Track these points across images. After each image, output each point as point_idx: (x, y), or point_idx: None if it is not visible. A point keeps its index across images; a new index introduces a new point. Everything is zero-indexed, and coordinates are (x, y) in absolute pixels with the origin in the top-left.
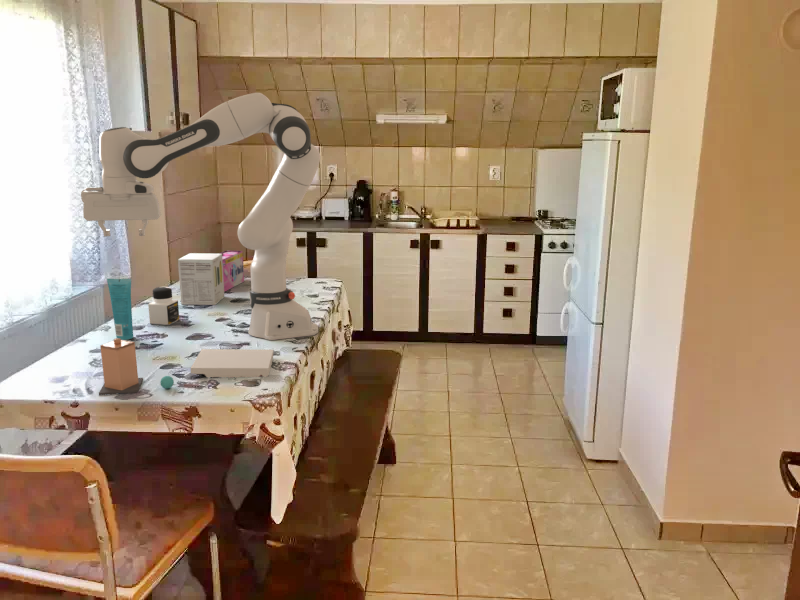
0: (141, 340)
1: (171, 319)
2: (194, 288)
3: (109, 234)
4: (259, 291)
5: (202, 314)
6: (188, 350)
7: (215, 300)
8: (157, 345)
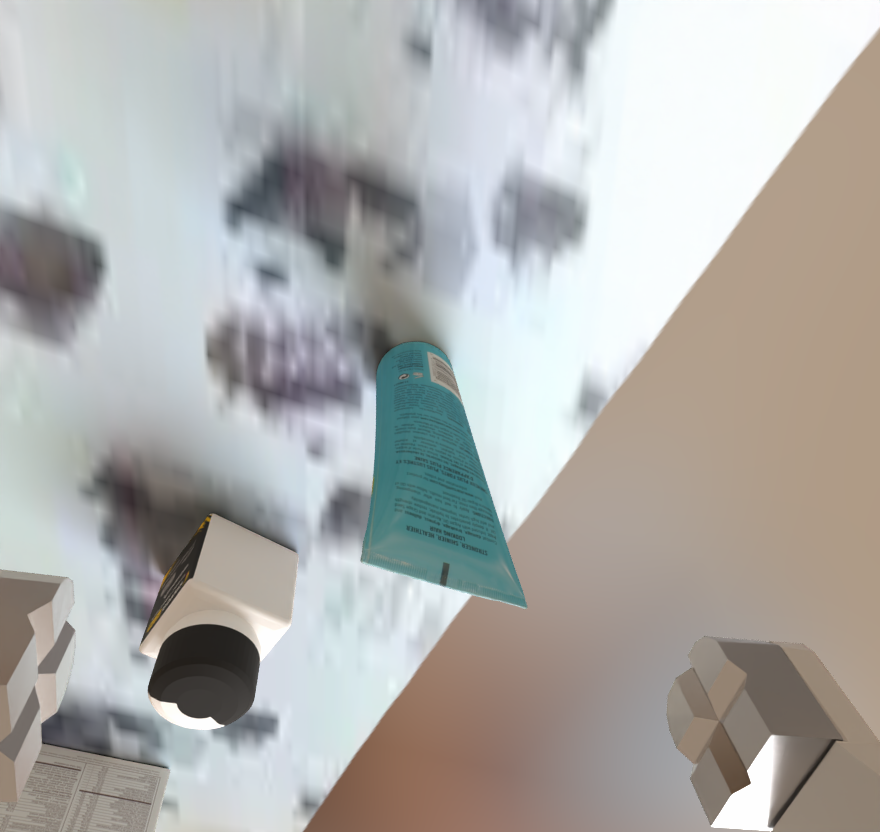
0: (338, 315)
1: (192, 542)
2: (79, 828)
3: (706, 681)
4: None
5: None
6: (66, 10)
7: None
8: (256, 193)
